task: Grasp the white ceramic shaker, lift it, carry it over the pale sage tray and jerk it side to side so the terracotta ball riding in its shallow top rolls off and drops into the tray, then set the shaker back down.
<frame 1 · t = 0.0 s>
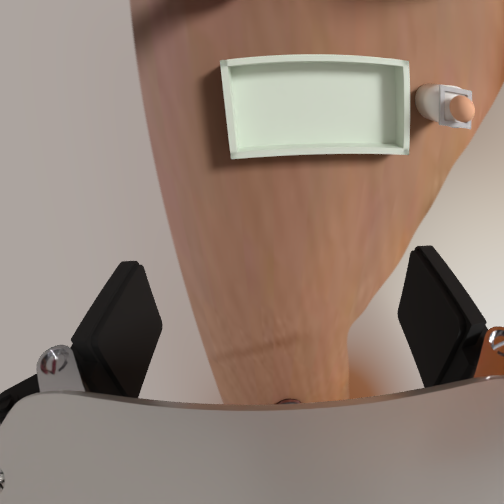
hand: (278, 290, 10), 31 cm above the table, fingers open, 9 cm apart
ball: (462, 108, 26), point 8 cm above the table, touching shaker
tray: (317, 102, 35), on the table
shaker: (431, 101, 33), on the table, touching ball
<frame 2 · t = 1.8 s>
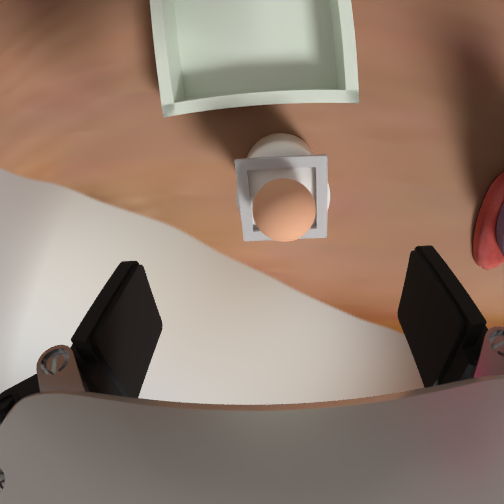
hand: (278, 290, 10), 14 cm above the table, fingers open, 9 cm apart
ball: (284, 209, 16), point 8 cm above the table, touching shaker
shaker: (281, 166, 22), on the table, touching ball
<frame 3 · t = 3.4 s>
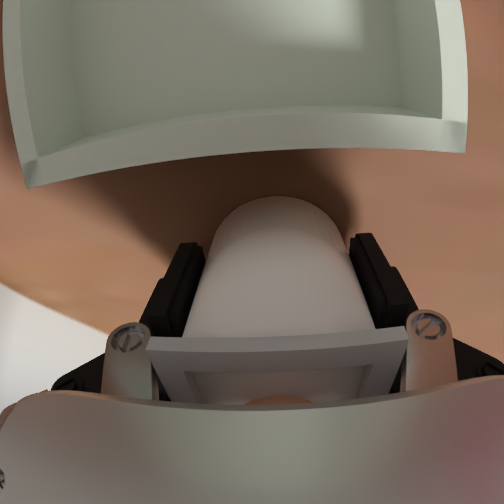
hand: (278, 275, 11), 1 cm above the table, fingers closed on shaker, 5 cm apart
ball: (279, 466, 5), point 8 cm above the table, touching shaker
shaker: (277, 259, 12), on the table, touching ball, gripper
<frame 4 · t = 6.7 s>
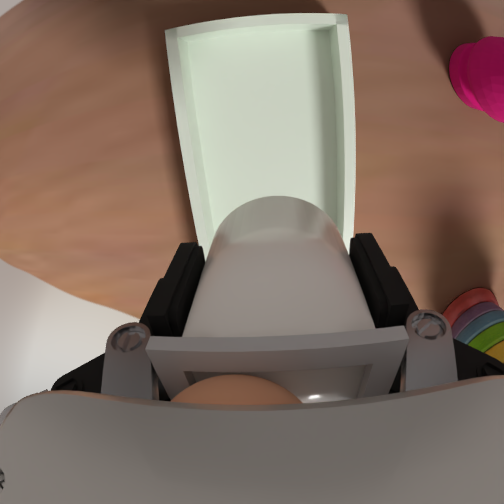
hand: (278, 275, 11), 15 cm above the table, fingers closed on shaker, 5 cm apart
pepper mill: (473, 76, 18), on the table
ball: (236, 452, 5), point 22 cm above the table, tilted 35°, touching shaker
tray: (270, 158, 24), on the table
stacking bear: (465, 316, 32), on the table
shaker: (277, 258, 12), point 14 cm above the table, touching ball, gripper
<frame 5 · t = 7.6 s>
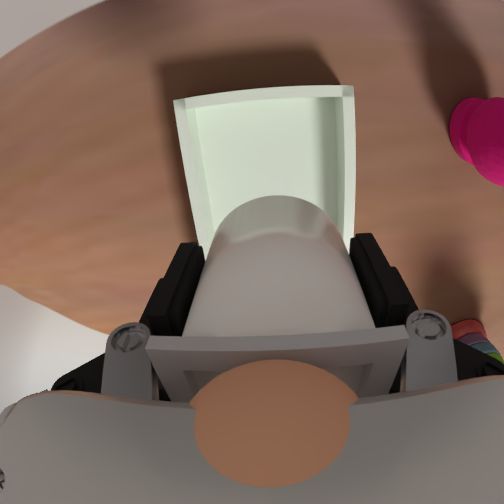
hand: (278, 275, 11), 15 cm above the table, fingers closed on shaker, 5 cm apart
pepper mill: (473, 129, 21), on the table
ball: (274, 453, 4), point 22 cm above the table, tilted 45°, touching shaker
tray: (275, 218, 27), on the table
stacking bear: (454, 343, 35), on the table
shaker: (277, 258, 12), point 14 cm above the table, touching ball, gripper
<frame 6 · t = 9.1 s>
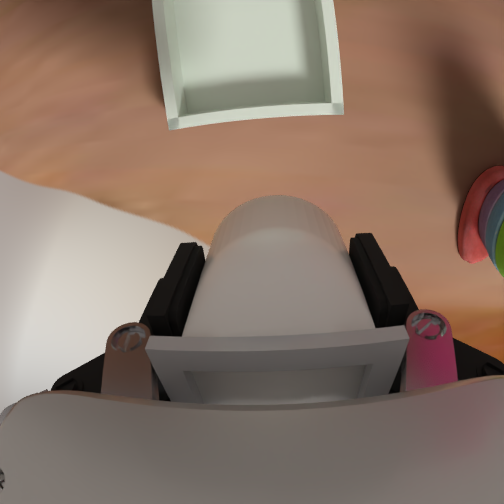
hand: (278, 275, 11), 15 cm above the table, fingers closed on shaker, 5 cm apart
stacking bear: (493, 208, 25), on the table
shaker: (277, 258, 12), point 14 cm above the table, touching gripper
when the fingers open (2 cm above the table, at t = 12.1 s): shaker stays where it is, on the table.
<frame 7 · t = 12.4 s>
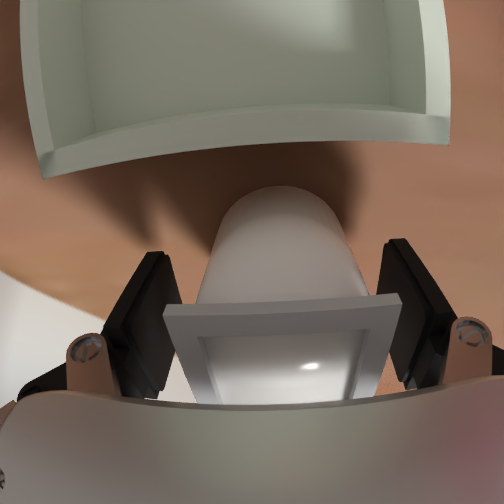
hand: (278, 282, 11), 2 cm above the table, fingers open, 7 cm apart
shaker: (280, 246, 13), on the table
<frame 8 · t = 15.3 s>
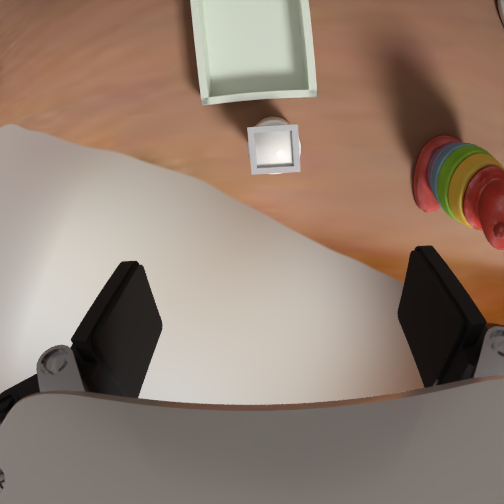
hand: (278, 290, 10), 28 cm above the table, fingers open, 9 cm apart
tray: (251, 10, 27), on the table
stacking bear: (443, 169, 35), on the table
shaker: (273, 138, 35), on the table
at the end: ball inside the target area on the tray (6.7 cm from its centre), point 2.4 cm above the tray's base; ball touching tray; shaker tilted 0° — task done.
